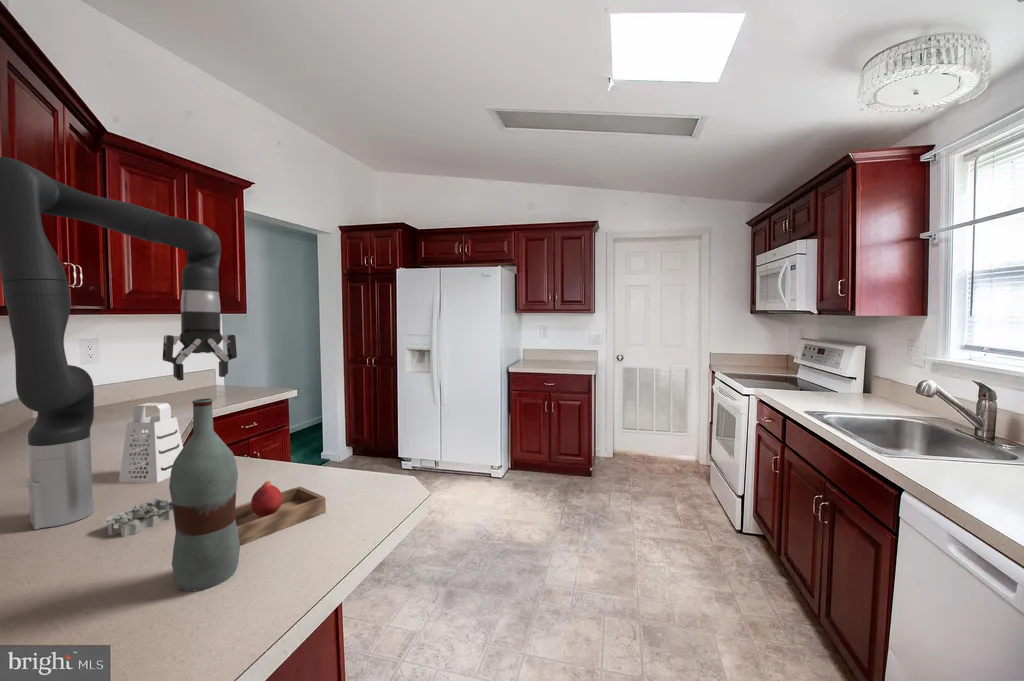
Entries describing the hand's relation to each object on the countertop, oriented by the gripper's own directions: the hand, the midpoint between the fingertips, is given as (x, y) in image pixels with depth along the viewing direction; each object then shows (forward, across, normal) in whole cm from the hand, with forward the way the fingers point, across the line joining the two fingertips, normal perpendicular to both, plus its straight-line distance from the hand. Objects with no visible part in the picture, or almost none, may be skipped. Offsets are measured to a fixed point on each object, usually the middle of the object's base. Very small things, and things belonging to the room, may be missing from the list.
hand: (201, 378), depth 102 cm
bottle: (+29, +11, +37) cm, 49 cm away
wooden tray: (+29, -4, +25) cm, 39 cm away
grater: (+30, +2, -30) cm, 42 cm away
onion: (+28, -4, +25) cm, 38 cm away
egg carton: (+30, +12, +4) cm, 33 cm away
